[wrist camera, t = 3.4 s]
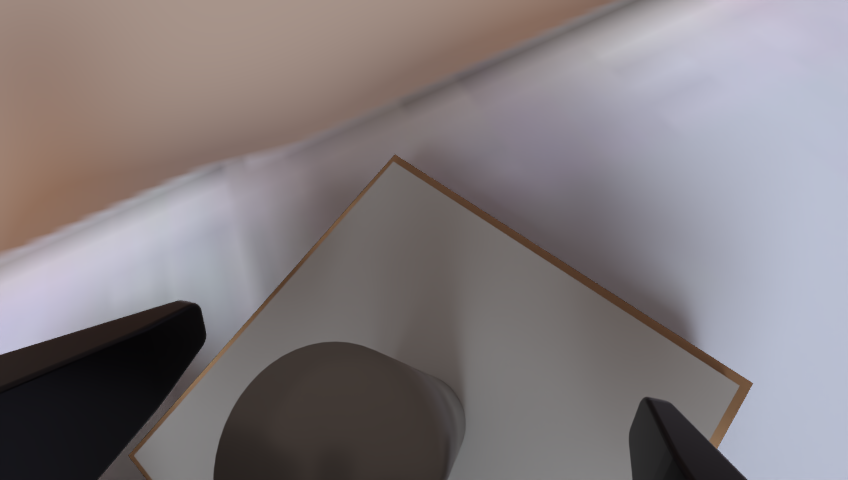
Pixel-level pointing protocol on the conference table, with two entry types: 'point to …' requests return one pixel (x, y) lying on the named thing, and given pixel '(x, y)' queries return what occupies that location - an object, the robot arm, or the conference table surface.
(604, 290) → the stand
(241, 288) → the conference table surface
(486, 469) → the cover
